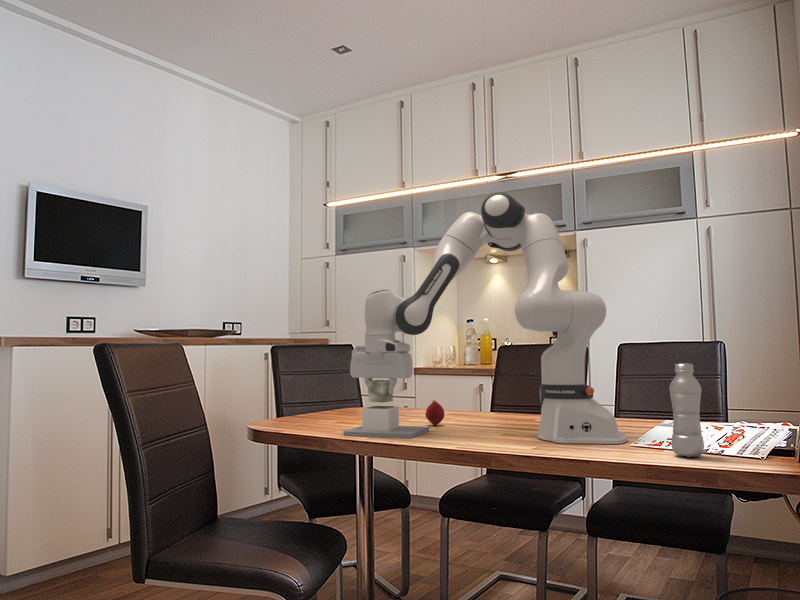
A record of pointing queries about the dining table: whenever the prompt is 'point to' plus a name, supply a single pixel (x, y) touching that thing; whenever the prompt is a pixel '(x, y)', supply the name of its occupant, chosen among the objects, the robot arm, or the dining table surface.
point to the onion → (435, 413)
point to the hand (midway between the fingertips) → (380, 394)
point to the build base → (389, 434)
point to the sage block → (379, 391)
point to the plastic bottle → (686, 412)
